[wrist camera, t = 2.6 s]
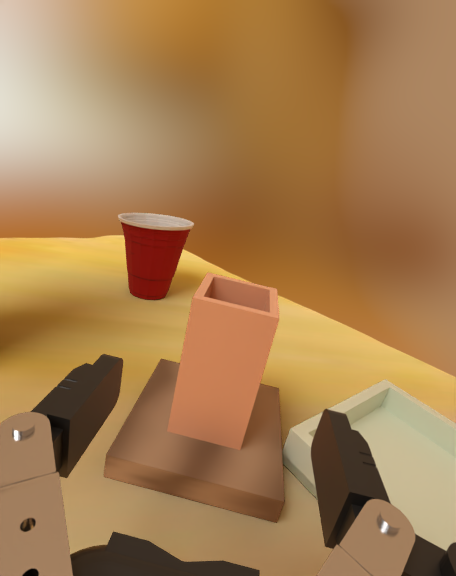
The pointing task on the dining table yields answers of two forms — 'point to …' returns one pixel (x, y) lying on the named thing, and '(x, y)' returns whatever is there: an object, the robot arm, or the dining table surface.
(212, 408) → the sleeve
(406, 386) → the dining table surface
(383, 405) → the tray
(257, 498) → the stand
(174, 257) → the plastic cup
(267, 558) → the dining table surface
